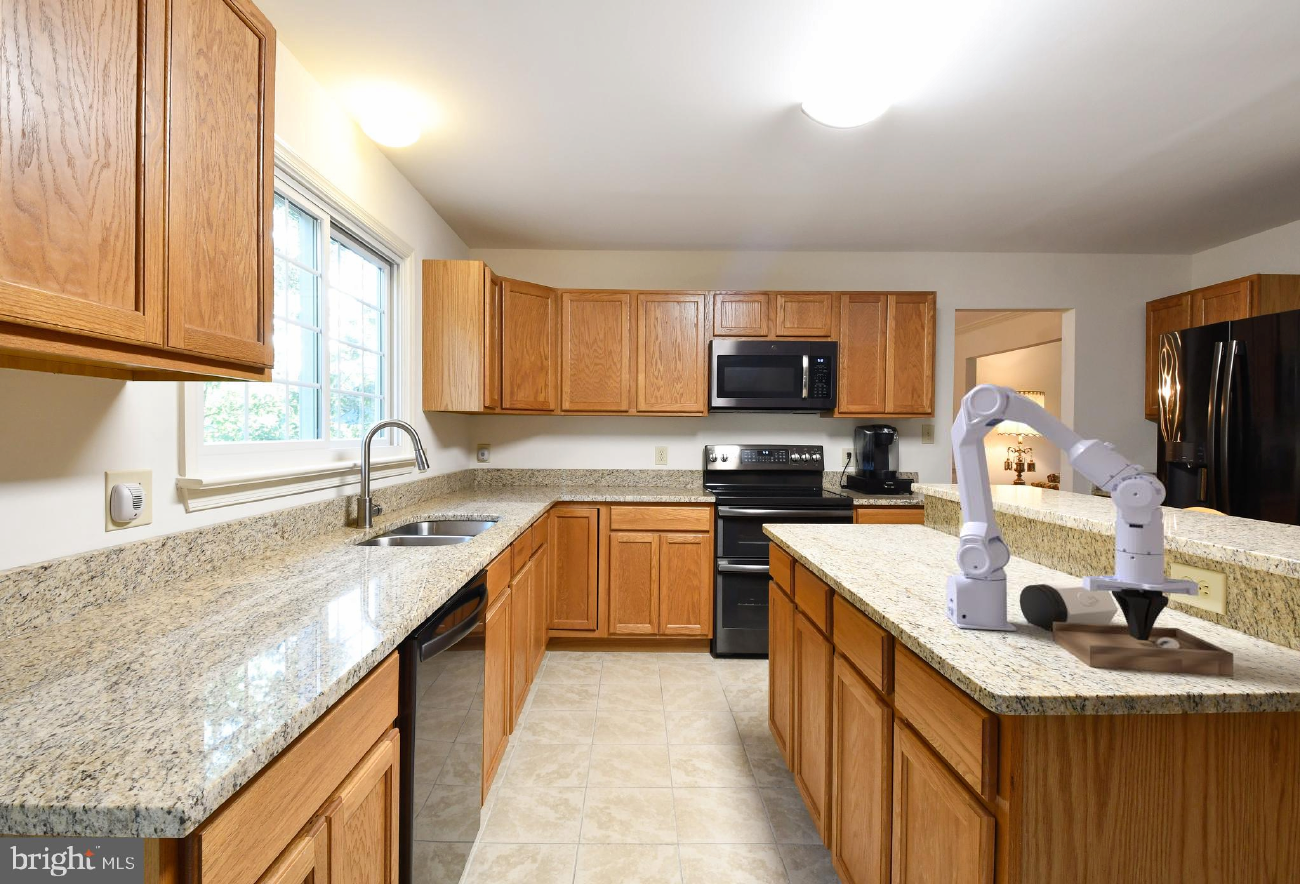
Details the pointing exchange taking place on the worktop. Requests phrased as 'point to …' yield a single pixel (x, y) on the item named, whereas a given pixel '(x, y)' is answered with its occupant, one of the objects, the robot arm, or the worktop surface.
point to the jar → (1065, 604)
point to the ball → (1168, 643)
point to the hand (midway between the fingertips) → (1139, 638)
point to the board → (1141, 649)
